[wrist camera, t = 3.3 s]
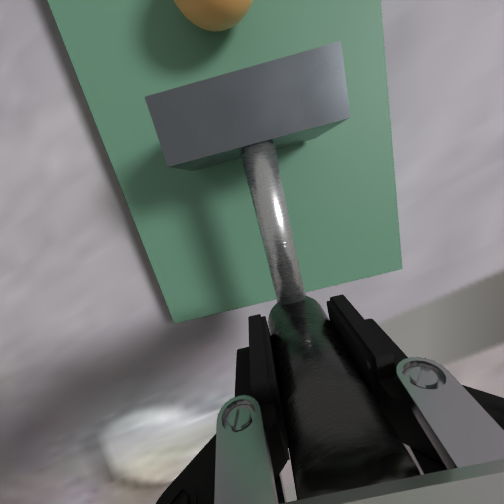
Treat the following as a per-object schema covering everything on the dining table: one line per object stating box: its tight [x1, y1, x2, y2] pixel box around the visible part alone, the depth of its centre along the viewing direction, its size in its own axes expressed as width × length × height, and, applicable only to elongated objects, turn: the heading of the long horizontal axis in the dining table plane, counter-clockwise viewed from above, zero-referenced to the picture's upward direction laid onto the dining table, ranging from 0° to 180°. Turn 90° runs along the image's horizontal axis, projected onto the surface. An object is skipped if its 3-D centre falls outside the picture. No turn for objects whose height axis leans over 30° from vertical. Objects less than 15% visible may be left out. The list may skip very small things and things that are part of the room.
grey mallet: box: [145, 41, 421, 500], centre depth 9 cm, size 12×7×11 cm, turn 14°
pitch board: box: [47, 0, 402, 324], centre depth 14 cm, size 25×16×2 cm, turn 14°
